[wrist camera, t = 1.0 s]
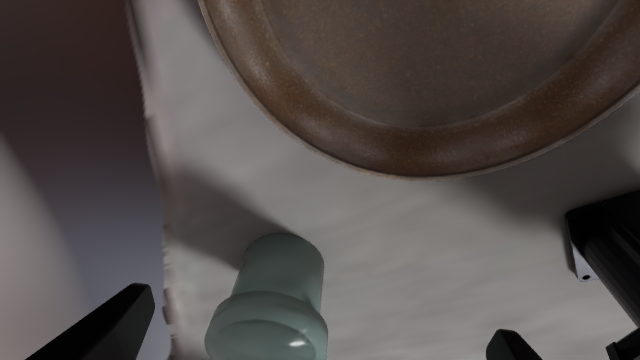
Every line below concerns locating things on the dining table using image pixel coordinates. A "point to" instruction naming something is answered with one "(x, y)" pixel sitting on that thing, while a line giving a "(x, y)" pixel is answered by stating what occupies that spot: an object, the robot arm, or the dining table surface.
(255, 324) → the glazed flower pot
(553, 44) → the plant saucer
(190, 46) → the dining table surface
